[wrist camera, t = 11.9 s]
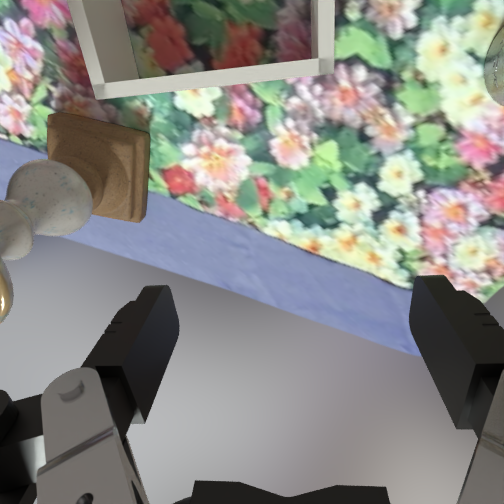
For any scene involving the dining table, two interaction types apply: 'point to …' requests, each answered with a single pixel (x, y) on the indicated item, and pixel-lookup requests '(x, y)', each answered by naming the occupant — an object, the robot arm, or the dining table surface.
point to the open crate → (128, 83)
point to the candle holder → (72, 187)
